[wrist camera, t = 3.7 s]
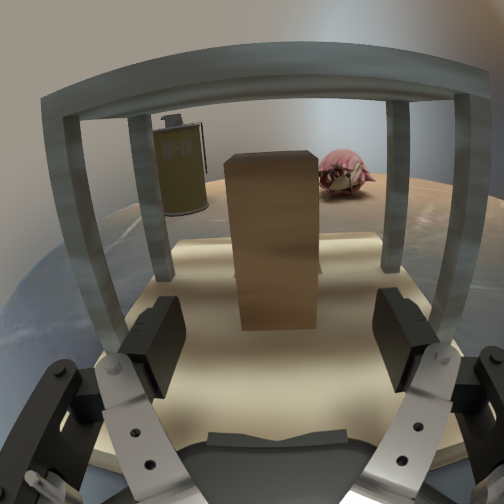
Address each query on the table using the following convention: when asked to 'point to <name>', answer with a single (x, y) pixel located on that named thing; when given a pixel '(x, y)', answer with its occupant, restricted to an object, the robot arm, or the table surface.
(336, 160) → the toy
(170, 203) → the canister
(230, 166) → the walnut block
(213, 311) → the tunnel deck
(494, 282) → the table surface
